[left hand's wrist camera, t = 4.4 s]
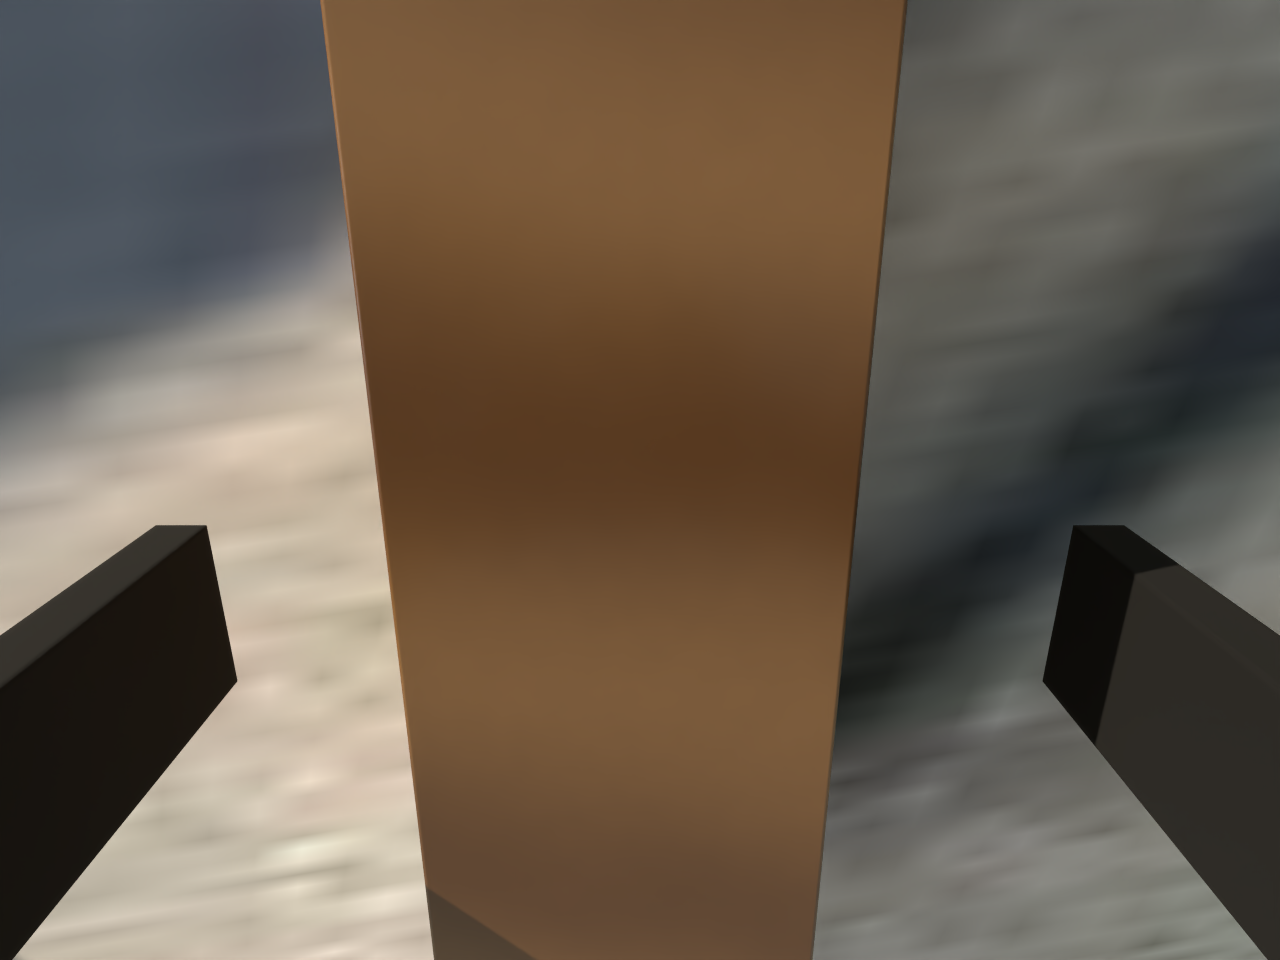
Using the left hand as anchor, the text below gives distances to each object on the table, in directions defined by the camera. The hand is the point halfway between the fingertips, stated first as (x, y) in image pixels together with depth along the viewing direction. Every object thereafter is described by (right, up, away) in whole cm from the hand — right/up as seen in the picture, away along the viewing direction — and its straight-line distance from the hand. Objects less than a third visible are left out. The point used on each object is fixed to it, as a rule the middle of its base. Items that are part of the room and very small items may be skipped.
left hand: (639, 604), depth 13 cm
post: (0, +28, -6) cm, 29 cm away
